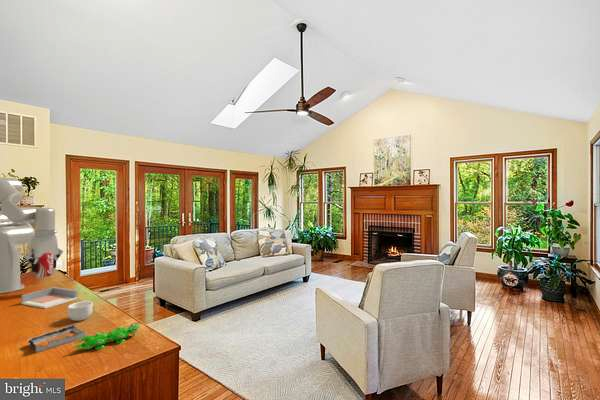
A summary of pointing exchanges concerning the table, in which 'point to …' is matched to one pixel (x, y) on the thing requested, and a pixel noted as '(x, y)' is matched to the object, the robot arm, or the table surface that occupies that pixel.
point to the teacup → (80, 310)
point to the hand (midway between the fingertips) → (44, 269)
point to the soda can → (45, 265)
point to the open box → (49, 297)
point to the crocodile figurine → (106, 337)
